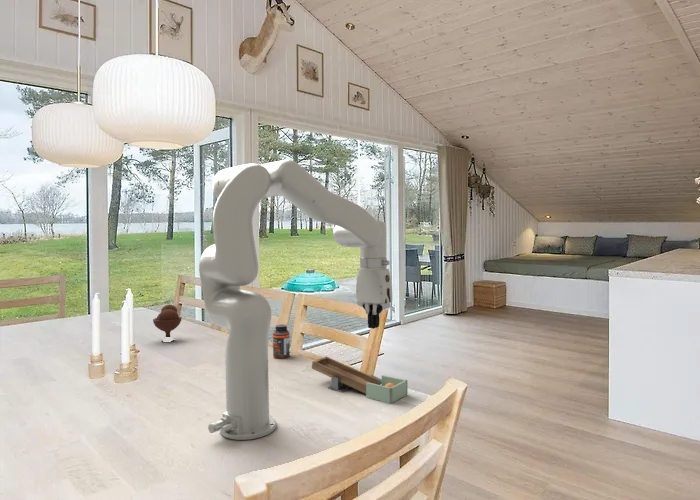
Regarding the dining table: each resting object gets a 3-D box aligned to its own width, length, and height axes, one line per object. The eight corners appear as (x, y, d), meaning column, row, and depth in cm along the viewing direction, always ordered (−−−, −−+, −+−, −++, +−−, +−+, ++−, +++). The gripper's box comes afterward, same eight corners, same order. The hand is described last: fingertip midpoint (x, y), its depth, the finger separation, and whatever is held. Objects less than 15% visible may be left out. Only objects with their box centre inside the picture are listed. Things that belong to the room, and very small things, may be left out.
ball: (381, 397, 127) (392, 398, 124) (380, 384, 127) (391, 385, 124) (388, 393, 129) (399, 394, 127) (387, 380, 129) (398, 382, 127)
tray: (391, 403, 122) (391, 388, 122) (366, 397, 127) (366, 382, 127) (407, 394, 128) (407, 380, 128) (382, 389, 133) (382, 375, 133)
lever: (365, 393, 128) (367, 386, 128) (311, 368, 140) (312, 361, 139) (385, 384, 136) (387, 376, 136) (332, 360, 148) (333, 354, 147)
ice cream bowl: (152, 339, 197) (151, 304, 196) (181, 337, 202) (180, 302, 201) (154, 345, 188) (152, 308, 187) (183, 342, 192) (182, 305, 192)
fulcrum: (341, 392, 131) (341, 379, 131) (327, 388, 134) (327, 376, 134) (361, 383, 139) (360, 371, 138) (347, 380, 142) (347, 368, 141)
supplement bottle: (269, 357, 168) (269, 326, 167) (279, 353, 173) (279, 323, 172) (283, 359, 165) (282, 327, 164) (293, 355, 170) (292, 324, 170)
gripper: (402, 264, 133) (402, 328, 134) (359, 262, 142) (360, 322, 143) (388, 265, 127) (388, 333, 128) (344, 263, 136) (345, 326, 137)
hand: (373, 327), depth 136 cm, fingers closed
